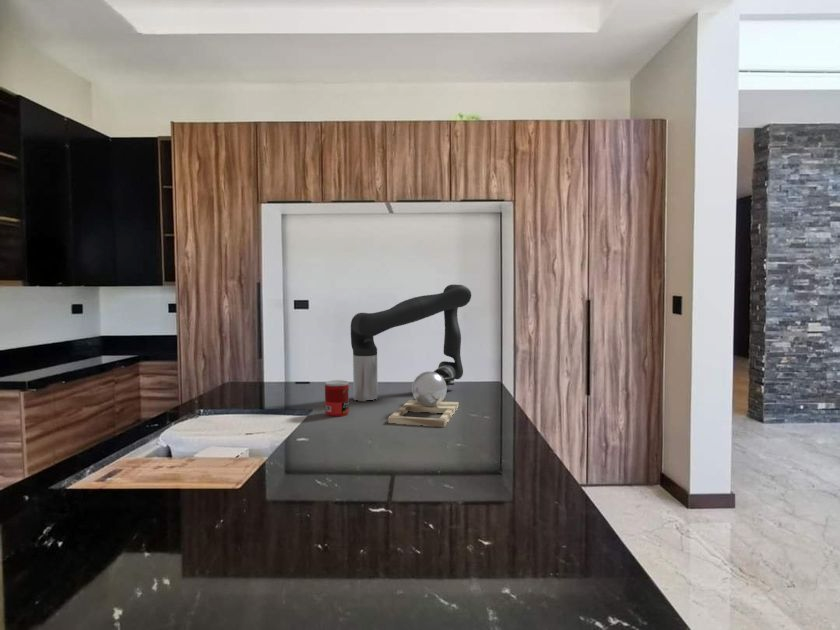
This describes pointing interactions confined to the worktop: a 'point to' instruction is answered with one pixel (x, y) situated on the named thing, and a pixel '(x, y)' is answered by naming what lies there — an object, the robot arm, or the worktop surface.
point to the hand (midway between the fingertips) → (432, 385)
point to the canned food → (336, 398)
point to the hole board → (413, 405)
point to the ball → (429, 388)
